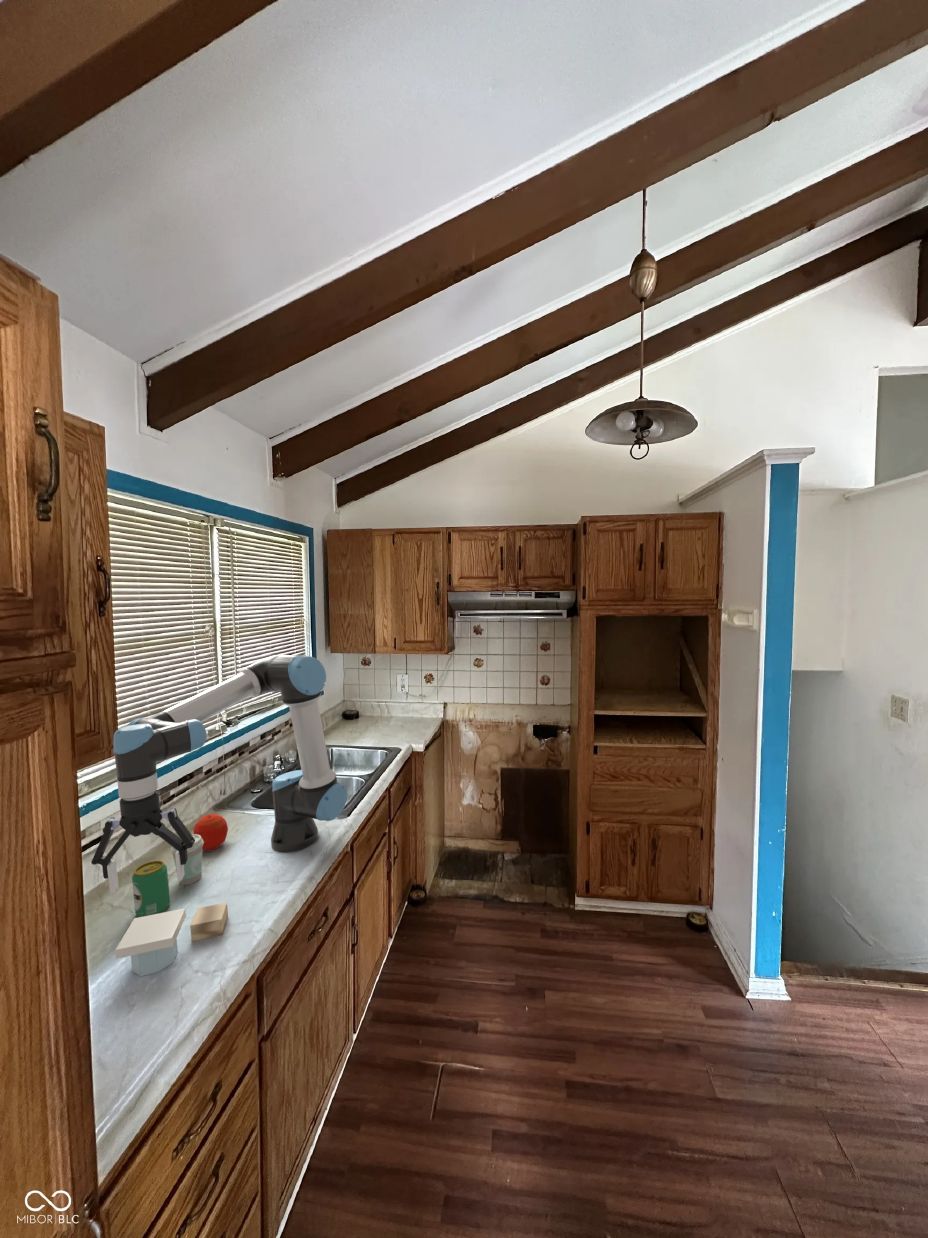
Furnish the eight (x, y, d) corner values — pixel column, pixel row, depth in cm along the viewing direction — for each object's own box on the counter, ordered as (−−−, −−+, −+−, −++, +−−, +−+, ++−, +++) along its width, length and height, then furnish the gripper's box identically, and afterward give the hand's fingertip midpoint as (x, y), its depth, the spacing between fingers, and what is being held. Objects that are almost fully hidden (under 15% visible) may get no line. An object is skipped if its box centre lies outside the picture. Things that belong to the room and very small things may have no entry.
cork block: (228, 917, 130) (226, 902, 130) (222, 934, 124) (221, 919, 123) (198, 923, 128) (197, 908, 128) (191, 941, 122) (190, 925, 121)
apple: (235, 840, 172) (232, 808, 171) (213, 856, 162) (210, 821, 161) (210, 838, 174) (207, 806, 173) (187, 854, 164) (184, 820, 164)
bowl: (180, 944, 121) (178, 920, 120) (170, 969, 113) (167, 944, 112) (141, 953, 119) (139, 928, 118) (127, 979, 111) (125, 953, 110)
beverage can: (131, 912, 135) (127, 869, 134) (164, 897, 141) (160, 856, 140) (141, 924, 129) (136, 879, 129) (174, 908, 135) (170, 865, 135)
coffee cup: (192, 889, 144) (188, 848, 143) (167, 887, 146) (163, 847, 145) (213, 872, 152) (209, 834, 152) (188, 870, 154) (185, 832, 153)
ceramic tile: (186, 916, 122) (185, 908, 122) (172, 946, 111) (171, 938, 111) (135, 926, 119) (134, 918, 119) (116, 958, 109) (115, 950, 108)
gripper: (203, 779, 120) (211, 864, 121) (83, 796, 114) (92, 886, 115) (195, 791, 113) (204, 881, 114) (66, 810, 106) (77, 906, 108)
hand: (148, 884), depth 115 cm, fingers open, 13 cm apart
